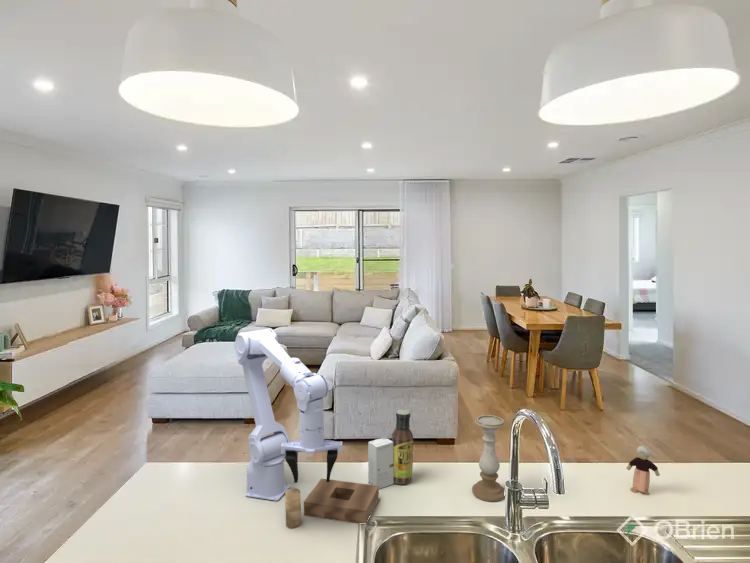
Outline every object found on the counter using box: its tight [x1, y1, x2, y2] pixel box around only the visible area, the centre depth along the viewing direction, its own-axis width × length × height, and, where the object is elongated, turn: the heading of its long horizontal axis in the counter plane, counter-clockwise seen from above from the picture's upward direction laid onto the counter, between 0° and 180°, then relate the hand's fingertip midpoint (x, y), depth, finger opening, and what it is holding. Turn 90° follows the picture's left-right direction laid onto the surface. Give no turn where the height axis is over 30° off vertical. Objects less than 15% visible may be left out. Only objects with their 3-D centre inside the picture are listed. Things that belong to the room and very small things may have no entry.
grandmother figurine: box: [626, 445, 661, 496], centre depth 128 cm, size 8×4×13 cm, turn 68°
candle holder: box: [471, 414, 506, 502], centre depth 127 cm, size 9×9×20 cm
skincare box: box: [367, 437, 395, 489], centre depth 133 cm, size 6×4×12 cm
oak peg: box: [284, 487, 302, 530], centre depth 114 cm, size 4×4×8 cm
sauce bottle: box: [391, 409, 414, 485], centre depth 134 cm, size 6×6×20 cm
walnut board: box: [303, 478, 380, 525], centre depth 122 cm, size 16×12×4 cm
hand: (312, 480), depth 116 cm, fingers open, 7 cm apart
